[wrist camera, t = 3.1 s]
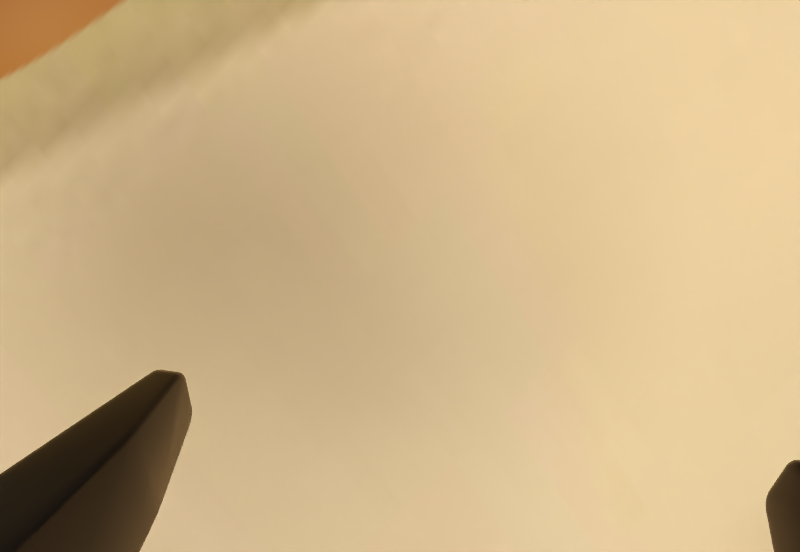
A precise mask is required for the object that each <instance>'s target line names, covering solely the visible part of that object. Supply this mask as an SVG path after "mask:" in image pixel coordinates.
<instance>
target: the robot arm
mask: <svg viewBox="0 0 800 552" xmlns="http://www.w3.org/2000/svg"><path fill="white" fill-rule="evenodd" d="M191 416H192V407H191V402H190V398H189V393H188V388H187V383H186V379H185V377H184V375H183V374H182V373H179V372H173V371H166V370H156V371H153V372H152V373H150V374H148V375H147V376H145V377H144V378H143V379H141V380H140V381H138V382H137V383H135V384H134V385H132V386H131V387H129V388H128V389H126V390H125V391H123V392H122V393H120V394H119V395H117V396H116V397H114V398H113V399H111V400H110V401H108V402H107V403H105V404H104V405H102V406H101V407H99V408H98V409H96V410H95V411H93V412H92V413H90V414H89V415H87V416H86V417H84V418H83V419H81V420H80V421H79V422H77V423H76V424H74V425H73V426H71V427H70V428H68V429H67V430H65V431H64V432H62V433H61V434H59V435H58V436H56V437H55V438H53V439H52V440H50V441H49V442H47V443H46V444H44V445H43V446H41V447H40V448H38V449H37V450H35V451H34V452H32V453H31V454H29V455H28V456H26V457H25V458H23V459H22V460H20V461H19V462H17V463H16V464H15V465H13V466H12V467H10V468H9V469H7V470H6V471H4V472H3V473H1V474H0V552H139V551H140V549H141V547H142V545H143V543H144V541H145V539H146V537H147V535H148V533H149V531H150V529H151V526H152V524H153V522H154V520H155V518H156V515H157V513H158V510H159V508H160V505H161V503H162V500H163V497H164V495H165V492H166V489H167V486H168V484H169V481H170V478H171V475H172V472H173V470H174V467H175V464H176V461H177V458H178V456H179V453H180V450H181V447H182V445H183V442H184V439H185V436H186V433H187V431H188V428H189V425H190V422H191ZM766 512H767V517H768V522H769V528H770V533H771V538H772V544H773V549H774V552H800V460H794V461H792V462H790V463H788V465H787V466H786V467H785V469H784V470H783V472H782V473H781V475H780V476H779V478H778V479H777V480H776V482H775V483H774V485H773V486H772V488H771V489H770V491H769V493H768V495H767V498H766Z"/></svg>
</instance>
